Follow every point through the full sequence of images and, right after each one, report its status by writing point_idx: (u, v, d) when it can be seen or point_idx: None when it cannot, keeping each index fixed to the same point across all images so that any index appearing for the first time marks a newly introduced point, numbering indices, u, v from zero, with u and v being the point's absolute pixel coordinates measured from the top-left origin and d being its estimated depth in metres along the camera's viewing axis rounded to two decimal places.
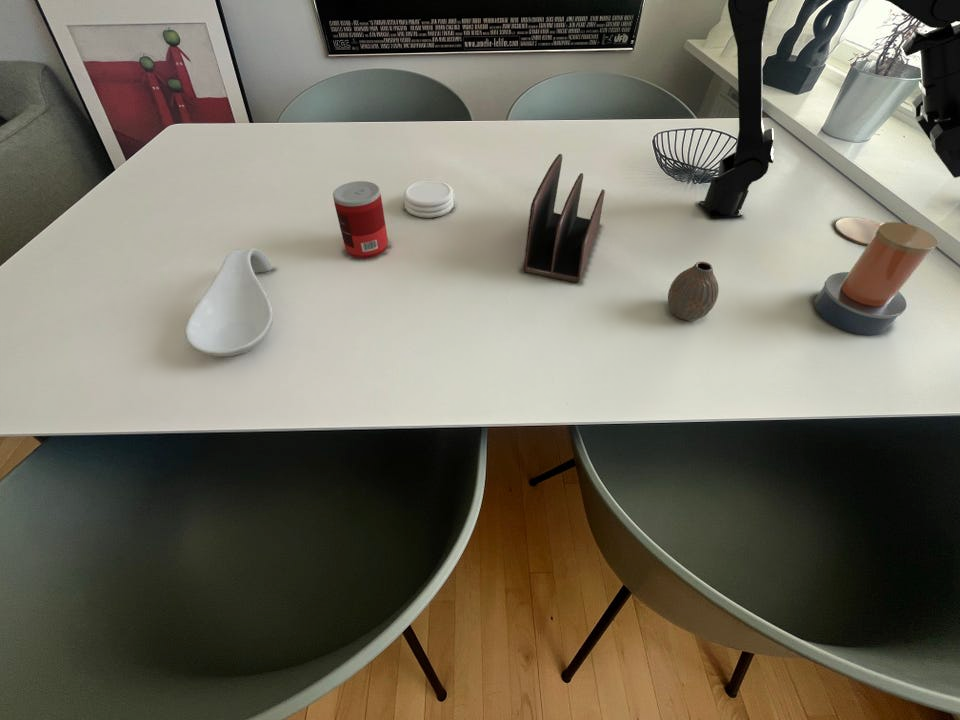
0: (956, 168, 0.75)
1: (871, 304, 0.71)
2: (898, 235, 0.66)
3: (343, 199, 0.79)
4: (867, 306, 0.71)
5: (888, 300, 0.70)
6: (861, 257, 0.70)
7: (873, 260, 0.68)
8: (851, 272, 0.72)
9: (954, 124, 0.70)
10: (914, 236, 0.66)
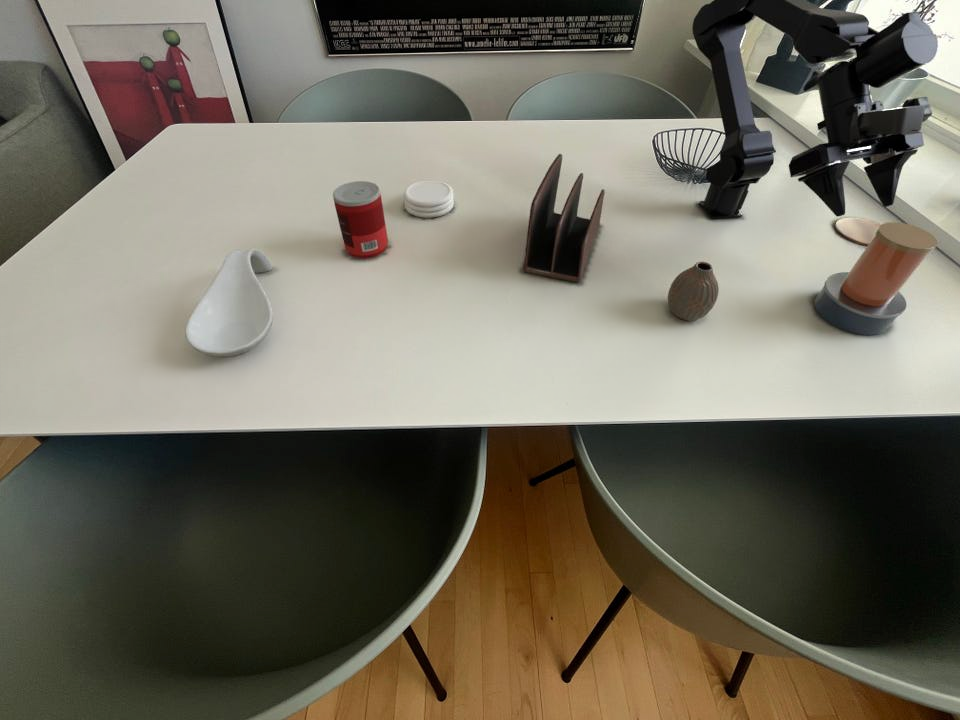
0: (833, 204, 0.70)
1: (871, 304, 0.71)
2: (898, 235, 0.66)
3: (343, 199, 0.79)
4: (867, 306, 0.71)
5: (888, 300, 0.70)
6: (861, 257, 0.70)
7: (873, 260, 0.68)
8: (851, 272, 0.72)
9: None
10: (914, 236, 0.66)
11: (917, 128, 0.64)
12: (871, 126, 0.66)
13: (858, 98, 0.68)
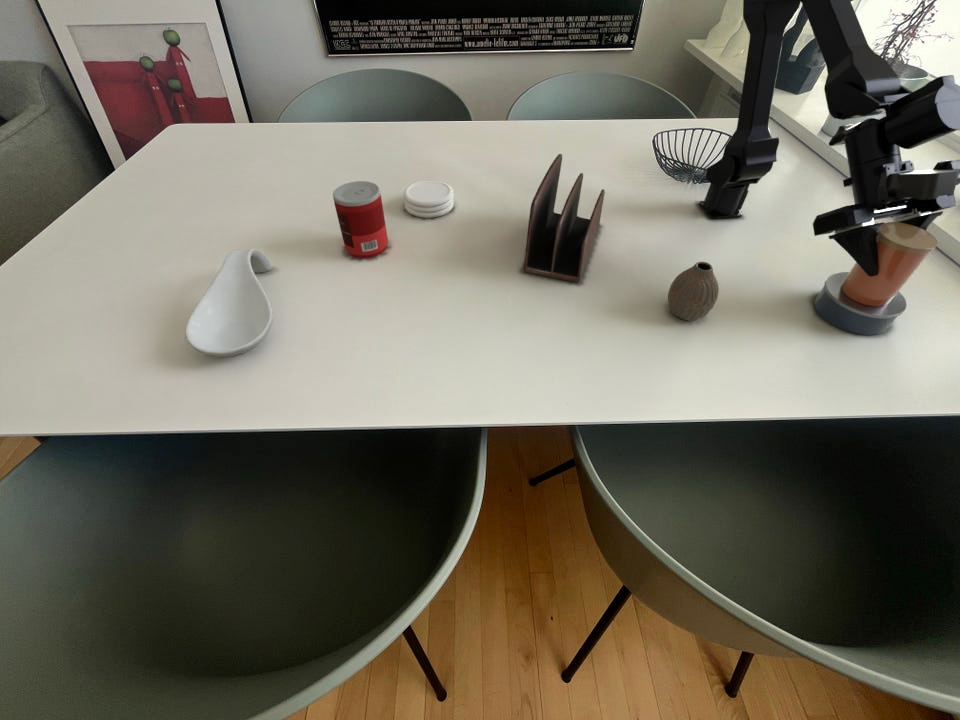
0: (866, 264, 0.68)
1: (871, 304, 0.71)
2: (898, 235, 0.66)
3: (343, 199, 0.79)
4: (867, 306, 0.71)
5: (888, 300, 0.70)
6: None
7: None
8: (851, 272, 0.72)
9: None
10: (914, 236, 0.66)
11: (950, 193, 0.61)
12: (901, 189, 0.63)
13: (887, 158, 0.65)
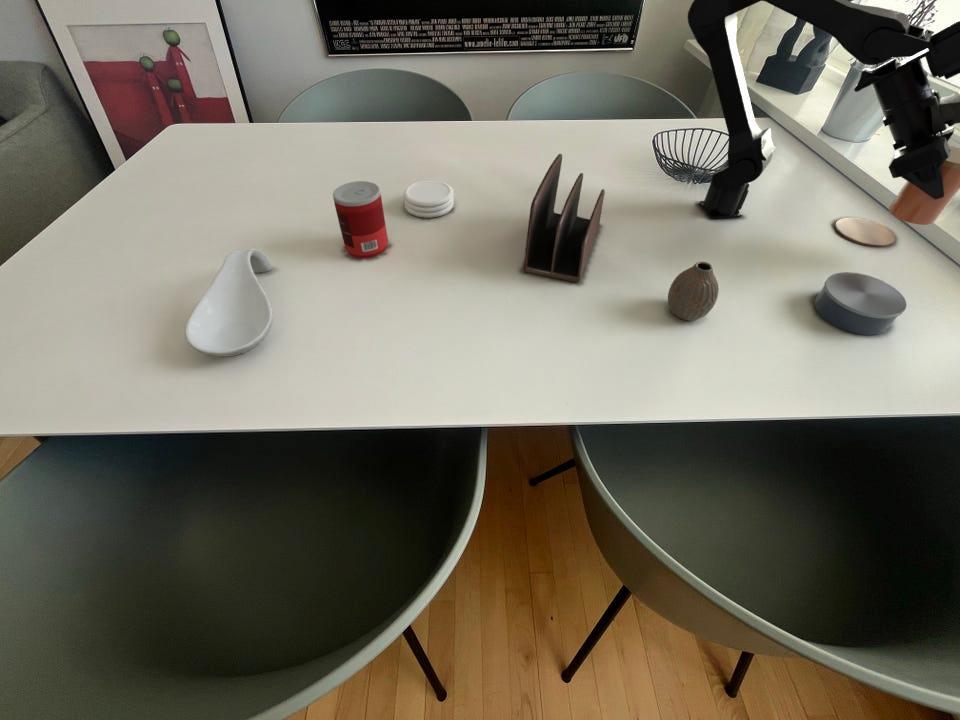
0: (932, 189, 0.73)
1: (930, 222, 0.78)
2: (952, 156, 0.72)
3: (343, 199, 0.79)
4: (867, 306, 0.71)
5: None
6: None
7: None
8: (906, 200, 0.77)
9: (907, 151, 0.70)
10: (959, 154, 0.73)
11: None
12: (957, 115, 0.68)
13: (928, 91, 0.70)
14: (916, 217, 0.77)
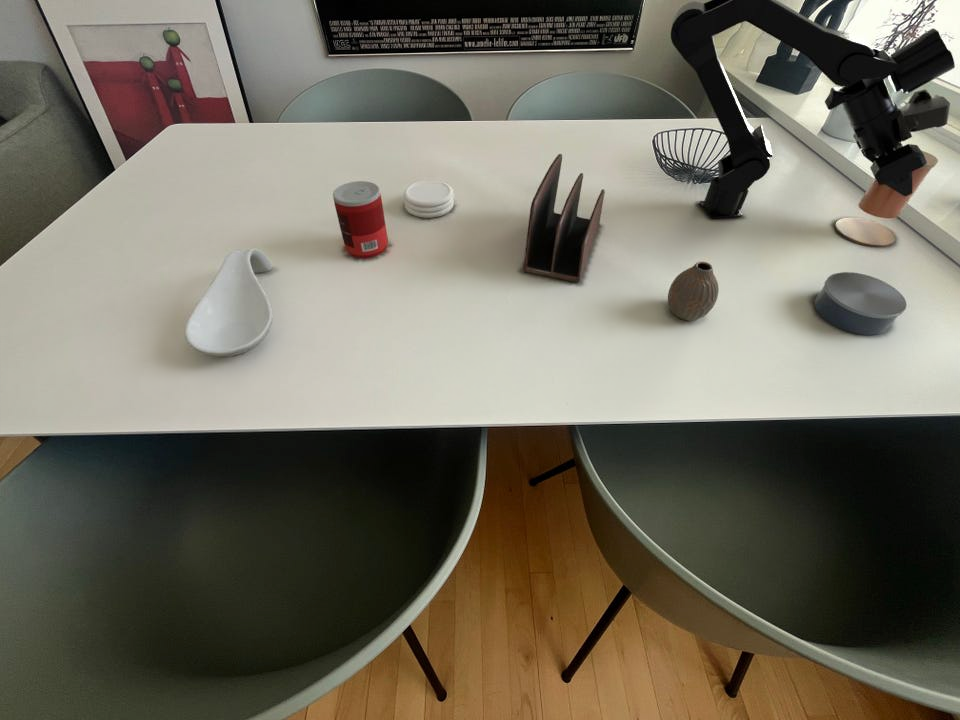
0: (903, 188, 0.82)
1: (898, 215, 0.87)
2: None
3: (343, 199, 0.79)
4: (867, 306, 0.71)
5: None
6: None
7: None
8: (878, 199, 0.86)
9: (888, 160, 0.77)
10: None
11: None
12: (920, 124, 0.77)
13: (892, 104, 0.77)
14: (888, 212, 0.86)
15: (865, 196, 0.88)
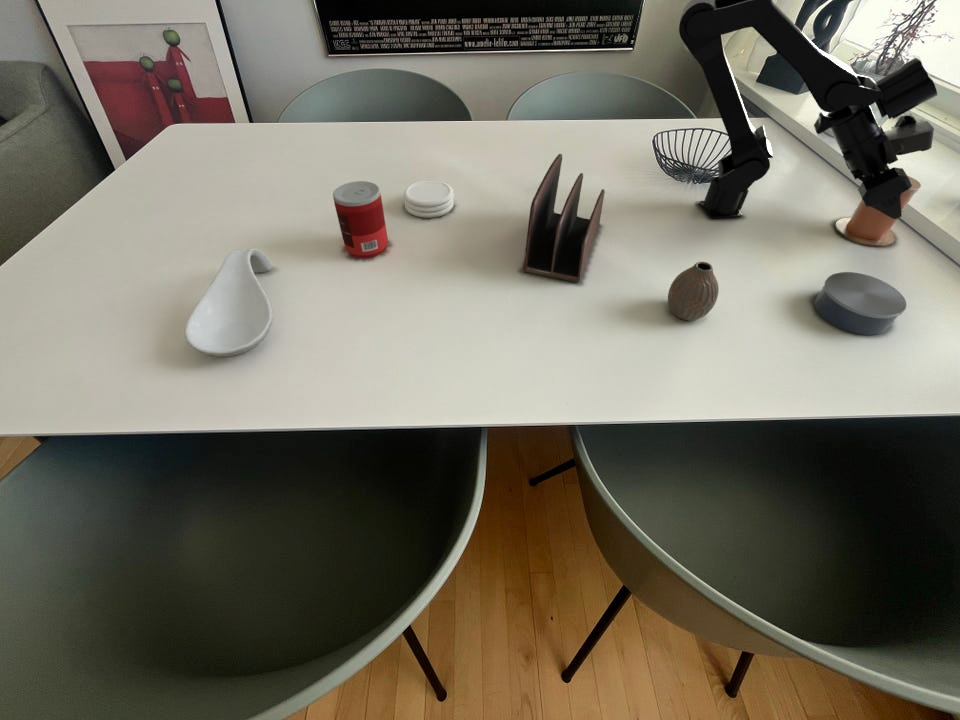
0: (892, 212, 0.84)
1: (884, 236, 0.90)
2: None
3: (343, 199, 0.79)
4: (867, 306, 0.71)
5: None
6: (872, 208, 0.87)
7: None
8: (864, 222, 0.89)
9: (875, 183, 0.80)
10: None
11: None
12: (905, 148, 0.80)
13: (878, 129, 0.80)
14: (874, 234, 0.89)
15: (852, 218, 0.91)
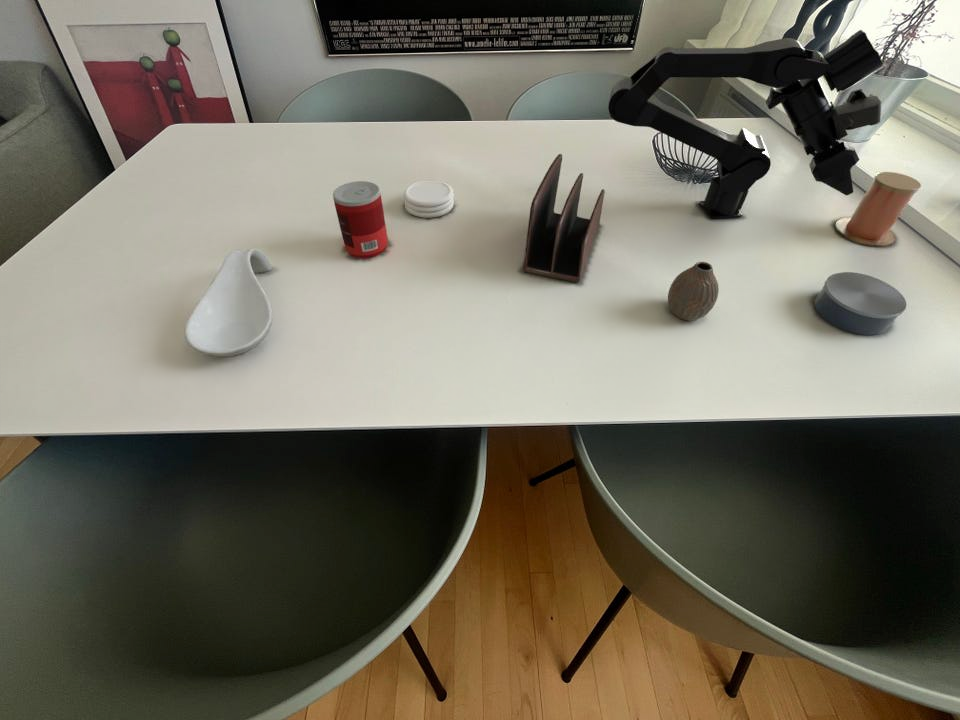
0: (844, 188, 0.84)
1: (884, 236, 0.90)
2: (897, 183, 0.84)
3: (343, 199, 0.79)
4: (867, 306, 0.71)
5: None
6: (872, 208, 0.87)
7: (890, 207, 0.85)
8: (864, 222, 0.89)
9: (824, 157, 0.80)
10: (900, 179, 0.85)
11: None
12: (854, 122, 0.80)
13: (828, 104, 0.80)
14: (874, 234, 0.89)
15: (852, 218, 0.91)
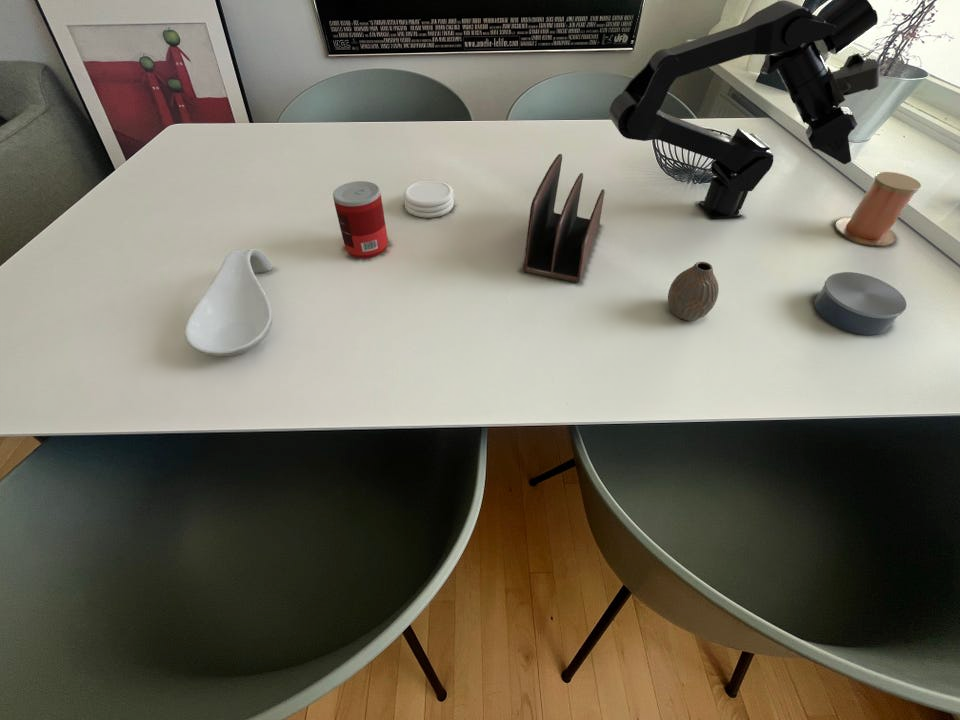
0: (841, 156, 0.82)
1: (884, 236, 0.90)
2: (897, 183, 0.84)
3: (343, 199, 0.79)
4: (867, 306, 0.71)
5: None
6: (872, 208, 0.87)
7: (890, 207, 0.85)
8: (864, 222, 0.89)
9: (821, 123, 0.78)
10: (900, 179, 0.85)
11: None
12: (852, 87, 0.77)
13: (824, 68, 0.78)
14: (874, 234, 0.89)
15: (852, 218, 0.91)
